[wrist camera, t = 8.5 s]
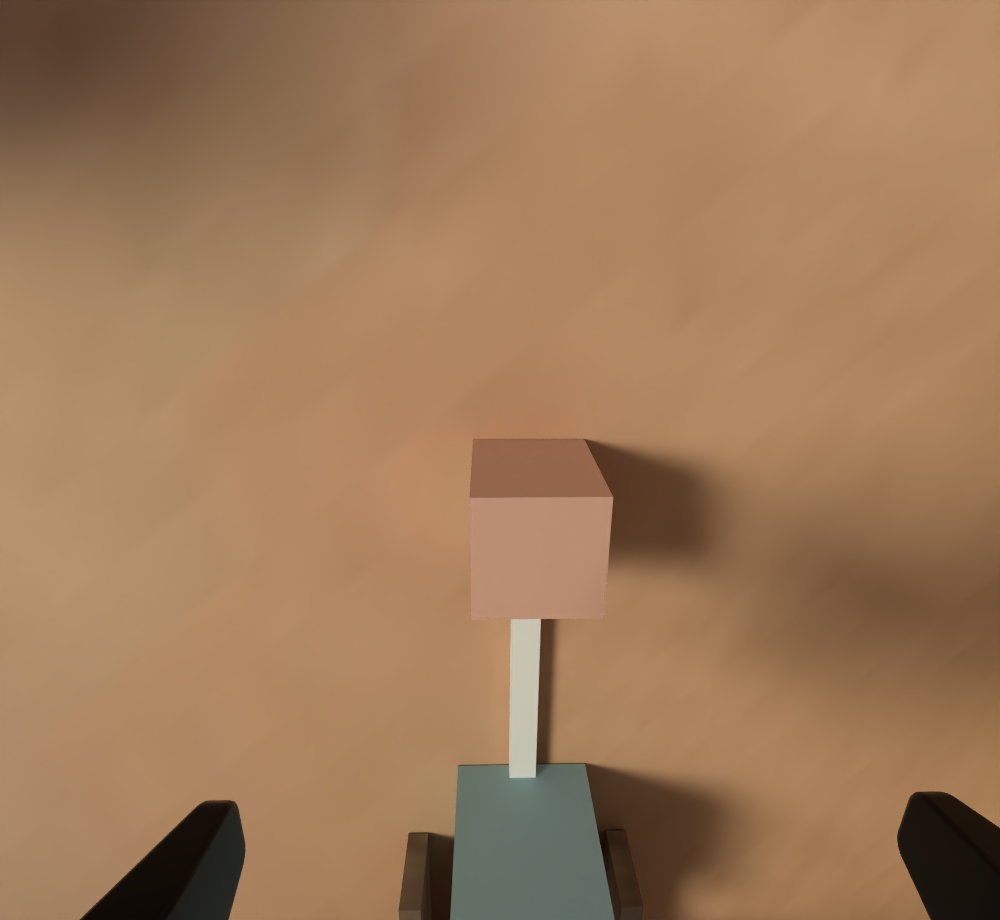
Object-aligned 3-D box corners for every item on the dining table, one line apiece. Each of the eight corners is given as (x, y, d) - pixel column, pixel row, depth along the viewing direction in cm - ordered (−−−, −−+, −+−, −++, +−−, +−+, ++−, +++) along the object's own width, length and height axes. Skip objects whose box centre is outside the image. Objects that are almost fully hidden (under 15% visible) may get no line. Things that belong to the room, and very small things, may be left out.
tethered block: (460, 855, 25) (452, 1054, 19) (449, 439, 18) (431, 536, 12) (578, 853, 25) (608, 1049, 19) (608, 439, 19) (667, 534, 12)
